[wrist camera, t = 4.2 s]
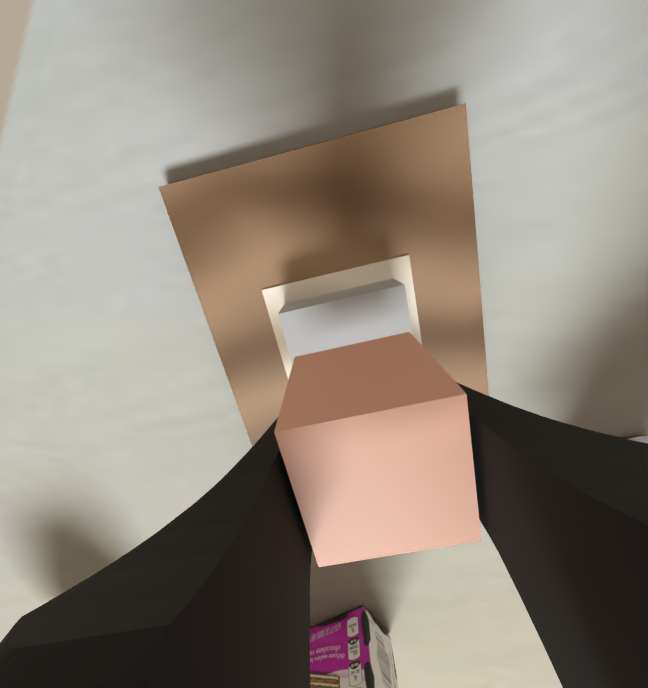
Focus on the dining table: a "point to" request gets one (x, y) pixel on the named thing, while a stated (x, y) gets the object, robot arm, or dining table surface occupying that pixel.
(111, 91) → the dining table surface
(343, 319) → the slate brick
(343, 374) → the terracotta block
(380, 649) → the candy bar box
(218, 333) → the tan flat board
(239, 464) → the robot arm
